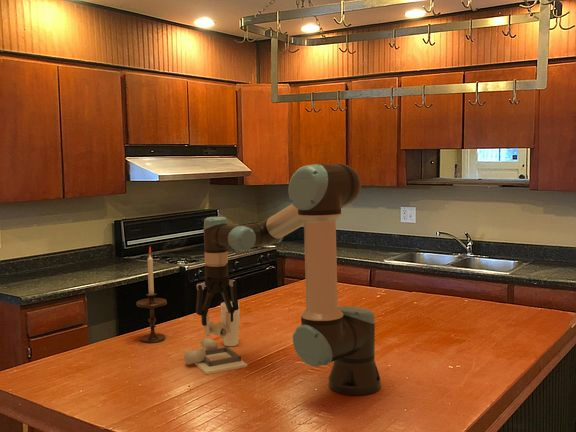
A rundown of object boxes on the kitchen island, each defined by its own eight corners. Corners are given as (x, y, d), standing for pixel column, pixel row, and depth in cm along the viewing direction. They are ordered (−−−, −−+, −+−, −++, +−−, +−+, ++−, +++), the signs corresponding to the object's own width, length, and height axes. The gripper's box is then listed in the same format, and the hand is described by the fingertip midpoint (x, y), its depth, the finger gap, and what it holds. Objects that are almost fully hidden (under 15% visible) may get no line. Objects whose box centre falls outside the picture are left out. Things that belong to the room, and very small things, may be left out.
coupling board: (247, 366, 193) (247, 352, 193) (196, 376, 185) (196, 361, 185) (222, 347, 213) (222, 334, 212) (175, 355, 205) (175, 341, 204)
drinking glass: (244, 344, 216) (243, 303, 215) (230, 348, 212) (229, 307, 210) (231, 340, 221) (230, 300, 220) (217, 344, 216) (216, 303, 215)
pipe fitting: (220, 330, 204) (204, 333, 199) (220, 319, 203) (204, 321, 199) (235, 335, 198) (219, 338, 193) (235, 323, 198) (219, 326, 193)
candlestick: (145, 334, 230) (142, 243, 226) (172, 335, 228) (169, 244, 224) (132, 343, 219) (129, 248, 216) (160, 344, 217) (157, 248, 214)
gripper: (239, 259, 204) (241, 326, 206) (183, 265, 195) (185, 334, 197) (248, 263, 197) (249, 332, 200) (190, 269, 188) (192, 340, 191)
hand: (217, 333), depth 198 cm, fingers closed on pipe fitting, 7 cm apart
